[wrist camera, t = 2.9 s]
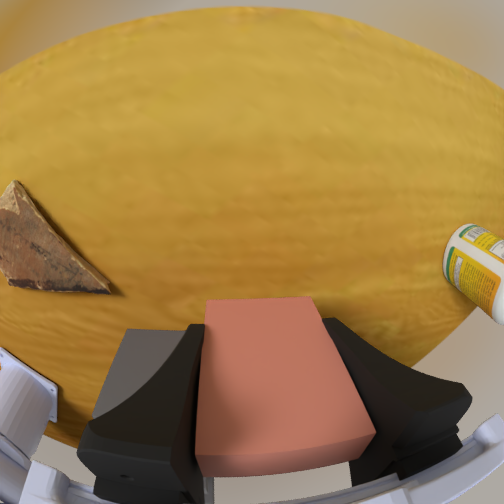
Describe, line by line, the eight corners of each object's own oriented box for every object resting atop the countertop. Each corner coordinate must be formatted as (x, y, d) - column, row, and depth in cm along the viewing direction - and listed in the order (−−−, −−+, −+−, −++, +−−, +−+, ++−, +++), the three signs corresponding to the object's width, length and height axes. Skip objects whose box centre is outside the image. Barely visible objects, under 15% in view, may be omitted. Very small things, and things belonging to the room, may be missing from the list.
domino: (197, 350, 19) (188, 443, 12) (132, 347, 19) (103, 433, 11) (194, 330, 18) (182, 427, 11) (127, 328, 18) (91, 415, 11)
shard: (118, 283, 17) (109, 296, 16) (71, 334, 19) (63, 347, 17) (23, 173, 14) (7, 177, 12) (-10, 242, 15) (-23, 250, 13)
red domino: (306, 325, 14) (358, 458, 7) (209, 329, 14) (203, 476, 6) (310, 296, 13) (376, 432, 6) (206, 299, 13) (194, 454, 6)
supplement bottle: (464, 209, 17) (557, 255, 8) (486, 242, 18) (561, 290, 9) (430, 265, 18) (514, 334, 9) (456, 291, 20) (524, 353, 11)
